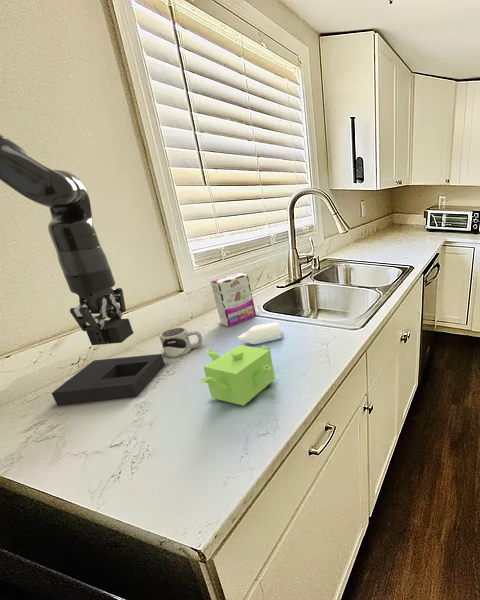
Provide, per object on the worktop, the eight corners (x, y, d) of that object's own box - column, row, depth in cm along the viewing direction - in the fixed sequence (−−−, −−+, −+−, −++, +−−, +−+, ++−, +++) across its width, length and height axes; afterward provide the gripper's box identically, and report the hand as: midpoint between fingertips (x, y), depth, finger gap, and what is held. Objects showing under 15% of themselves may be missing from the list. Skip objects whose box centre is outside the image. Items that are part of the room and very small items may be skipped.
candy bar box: (248, 313, 123) (239, 272, 117) (256, 316, 120) (248, 273, 114) (220, 325, 114) (209, 280, 108) (228, 328, 111) (218, 282, 105)
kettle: (209, 422, 69) (197, 377, 65) (209, 386, 80) (199, 347, 76) (283, 399, 75) (275, 357, 71) (273, 370, 87) (266, 332, 83)
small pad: (91, 345, 74) (85, 329, 73) (105, 335, 79) (100, 320, 77) (121, 342, 75) (115, 327, 74) (133, 333, 80) (128, 318, 78)
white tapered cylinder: (238, 343, 101) (234, 327, 99) (278, 334, 107) (275, 318, 105) (240, 351, 96) (236, 334, 94) (282, 341, 102) (279, 325, 100)
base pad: (58, 407, 74) (51, 393, 72) (98, 373, 86) (93, 360, 85) (137, 398, 76) (132, 384, 75) (165, 366, 89) (161, 353, 88)
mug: (163, 360, 92) (156, 339, 90) (167, 349, 98) (161, 329, 95) (203, 352, 96) (198, 332, 94) (205, 342, 102) (200, 323, 99)
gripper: (89, 261, 77) (113, 326, 83) (39, 279, 63) (72, 355, 69) (125, 259, 78) (146, 323, 84) (83, 276, 65) (111, 351, 71)
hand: (112, 337), depth 77 cm, fingers closed on small pad, 5 cm apart
